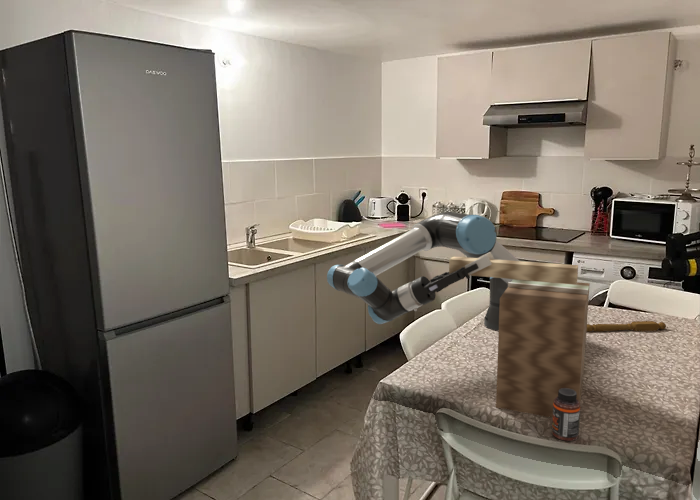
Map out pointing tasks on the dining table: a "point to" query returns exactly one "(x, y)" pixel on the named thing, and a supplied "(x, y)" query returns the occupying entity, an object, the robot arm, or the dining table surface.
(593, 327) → the wooden spindle
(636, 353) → the dining table surface
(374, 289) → the robot arm
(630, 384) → the dining table surface
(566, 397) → the supplement bottle
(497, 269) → the beech bar
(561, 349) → the brown wavy patterned box
